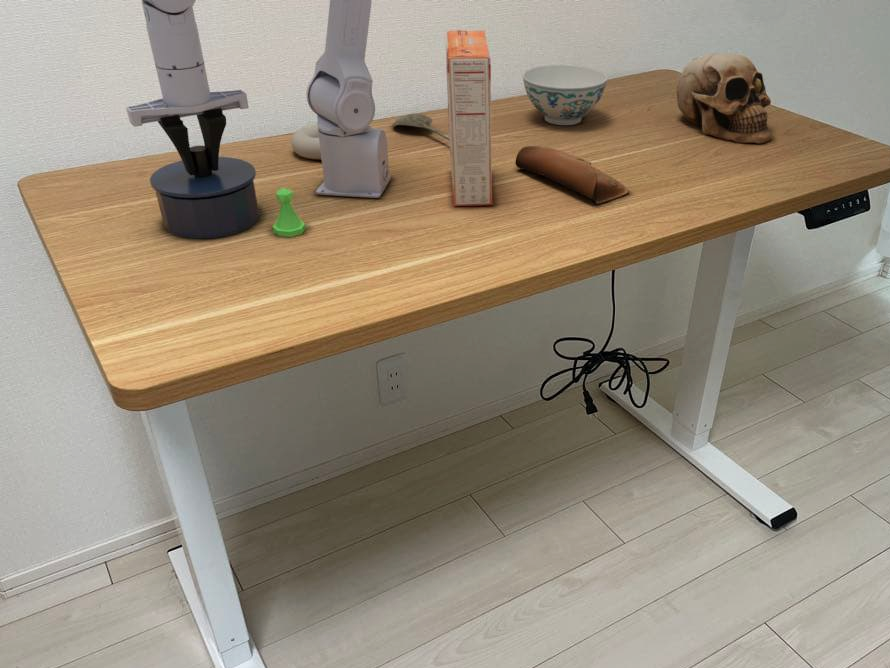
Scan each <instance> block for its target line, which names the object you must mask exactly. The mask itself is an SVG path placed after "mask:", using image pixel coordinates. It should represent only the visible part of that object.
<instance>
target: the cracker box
mask: <svg viewBox="0 0 890 668" xmlns="http://www.w3.org/2000/svg"><path fill="white" fill-rule="evenodd" d="M445 33H446V34H445V35H446V36H445V38H446V39H445V41H446V43H445V46H446V47H445V58H446V59H445V63H446V64H445V67H446V69H445V70H446V90H447V91H446V95H447V115H448V117H447V118H448V136H449V139H450V140H449V155H450V174H451V187H452V196H453V205H454V207H471V206H473V207H475V206H476V207H477V206H493V164H492V163H493V162H492V161H493V160H492V158H493V156H492V91H491V90H492V79H491V78H492V71H491V70H492V64H491V54H490V48H489V45H488V41H487V35H486V31H485V30H462V29H459V30H458V29H457V30H447V31H445Z"/></svg>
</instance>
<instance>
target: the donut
mask: <svg viewBox="0 0 890 668" xmlns="http://www.w3.org/2000/svg"><path fill="white" fill-rule="evenodd" d="M290 142H291V143H290V144H291V148H292V150H293V151H294V152H295V153H296V154H297V155H298V156H299V157H302V158H304V159H309V160H316V161H317V160H319V161H322V159H321V151H320V143H319V135H318V127H317V124H312V125H307V126H303V127H302V128H300V129H298V130H296V131H295V133H293V134H292V135H291V138H290Z"/></svg>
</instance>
